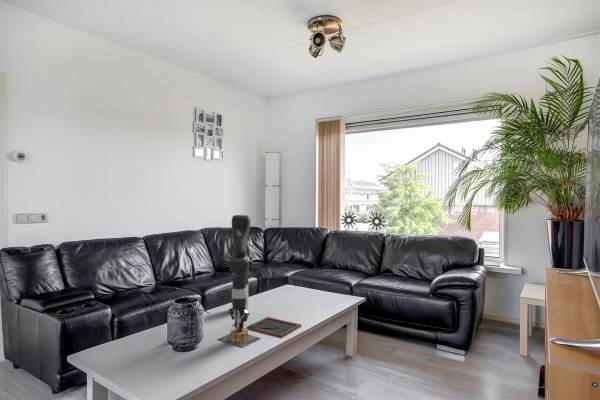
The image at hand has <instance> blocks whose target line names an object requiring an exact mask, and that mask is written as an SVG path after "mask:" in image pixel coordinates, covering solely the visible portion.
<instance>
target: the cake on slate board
mask: <svg viewBox="0 0 600 400" xmlns="http://www.w3.org/2000/svg"><path fill="white" fill-rule="evenodd" d="M217 340H218V341H220V342H223V343H226V344H230V345H233V346H235V347H238V348H242V349H243V348H245V347H247V346H249V345H251V344H253V343H255V342H257V341H259V340H261V337H257V336H256V335H252V334H249V329H247V328H246V327H243V329H241V332H240V333H237V328H233V329H231V330H230V332H229V333H228V334H225V335H224V336H221V337H219V338H217Z"/></svg>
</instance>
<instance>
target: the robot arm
mask: <svg viewBox="0 0 600 400" xmlns="http://www.w3.org/2000/svg"><path fill="white" fill-rule="evenodd" d="M250 230H251V217H250V216H249V215H246V214H235V215H233V216H232V218H231V233H232V256H231V258H230V261H229V264H228V270H229V271H230V272H231V273H233V274H234V275H237V276H234V277H233V278H232V288H231V289H232V290H231V306H232V307H231V308H229V309H228V311H229V314H230V317H231V320H233V321H234V327H235V329H236V328H237V315H238V318H239V322H240V323H239V329H240V330H241V329H243V328H244V324H243V322H244V323H245V322H247V320H248V318H249V315H250V311H249V271H250V261H249V260H248V259H246V256H247V251H248V240H249V235H250ZM240 231H243V232H242V233H240ZM241 318H242V320H241Z"/></svg>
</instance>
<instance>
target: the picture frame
mask: <svg viewBox="0 0 600 400" xmlns="http://www.w3.org/2000/svg"><path fill="white" fill-rule="evenodd" d="M301 327H302V324H301V323H296V322H293V321H288V320H284V319H279V318H274V317H269V316H266V317H264V318H262V319H260V320H258V321H256V322H254V323H251V324H250V325H247V326H246V329H248V330H250V331H254V332H257V333H261V334H266V335H269V336H274V337H278V338H281V339H283V338H285V337H287V336H288V335H290V334H291V333H293V332H294V331H296V330H297V329H300V328H301Z"/></svg>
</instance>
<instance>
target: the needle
mask: <svg viewBox="0 0 600 400" xmlns="http://www.w3.org/2000/svg"><path fill="white" fill-rule="evenodd" d="M239 323H240V322H239V318H238V315H237V333H240V332H241V330H240V329H239Z"/></svg>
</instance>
